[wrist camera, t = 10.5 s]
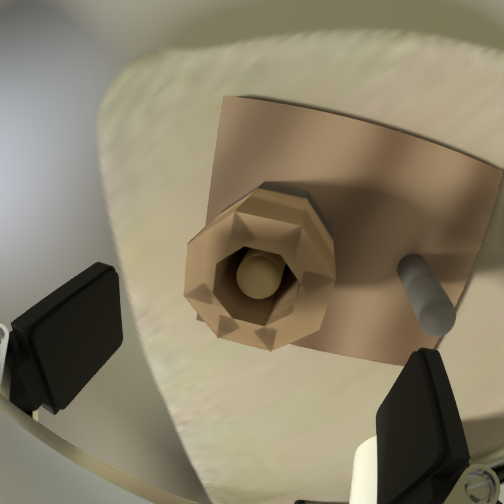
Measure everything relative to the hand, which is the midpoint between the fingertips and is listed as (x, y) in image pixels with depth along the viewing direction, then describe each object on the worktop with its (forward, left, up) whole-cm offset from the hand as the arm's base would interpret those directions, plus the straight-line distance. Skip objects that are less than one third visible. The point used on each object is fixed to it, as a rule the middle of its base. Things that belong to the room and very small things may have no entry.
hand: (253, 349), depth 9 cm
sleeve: (+1, 0, -9) cm, 9 cm away
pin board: (-3, 0, -10) cm, 11 cm away
